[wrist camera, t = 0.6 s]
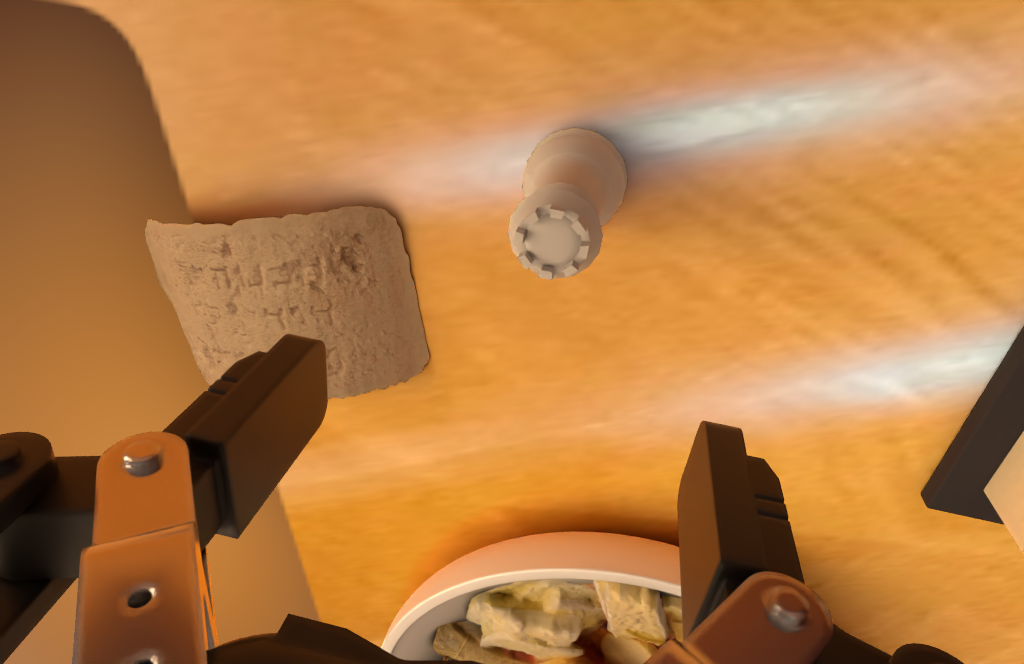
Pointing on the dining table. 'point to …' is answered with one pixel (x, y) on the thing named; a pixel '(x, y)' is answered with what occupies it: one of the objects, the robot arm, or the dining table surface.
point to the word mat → (982, 443)
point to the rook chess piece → (566, 202)
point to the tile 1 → (1010, 492)
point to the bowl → (546, 603)
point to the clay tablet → (296, 292)
